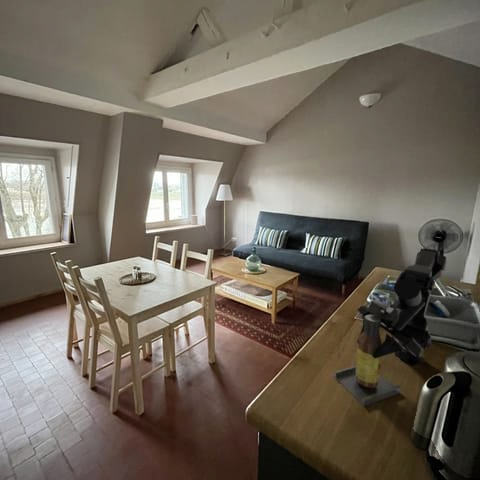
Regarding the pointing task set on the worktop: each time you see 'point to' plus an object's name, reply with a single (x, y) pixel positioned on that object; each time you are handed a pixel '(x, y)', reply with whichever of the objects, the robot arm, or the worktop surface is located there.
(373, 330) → the sauce bottle
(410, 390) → the worktop surface
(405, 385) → the worktop surface
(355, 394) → the floor track
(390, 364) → the worktop surface
